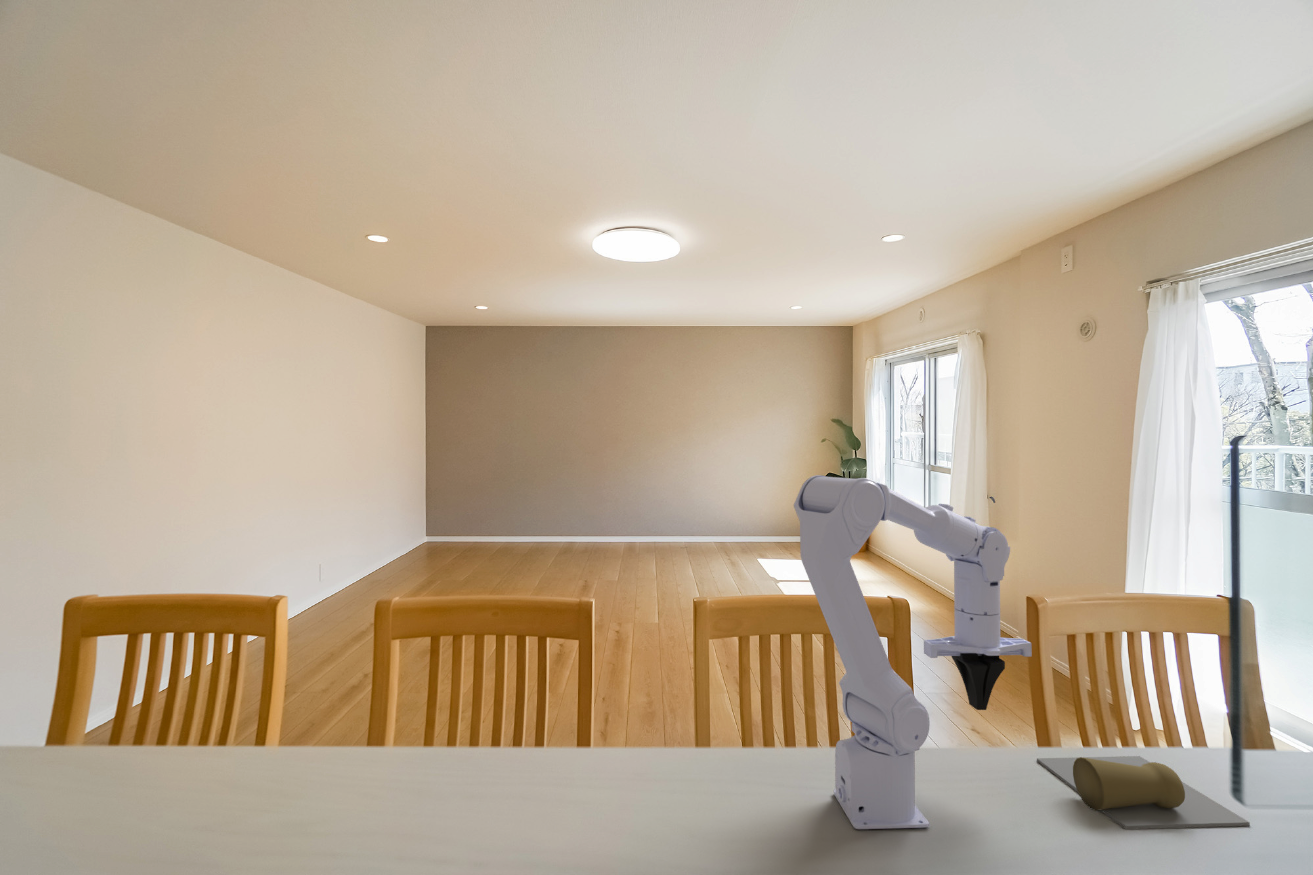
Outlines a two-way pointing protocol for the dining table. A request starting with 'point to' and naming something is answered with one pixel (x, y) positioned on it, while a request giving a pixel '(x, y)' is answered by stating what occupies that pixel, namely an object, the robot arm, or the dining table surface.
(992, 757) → the dining table surface
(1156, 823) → the mat
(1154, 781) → the cork
